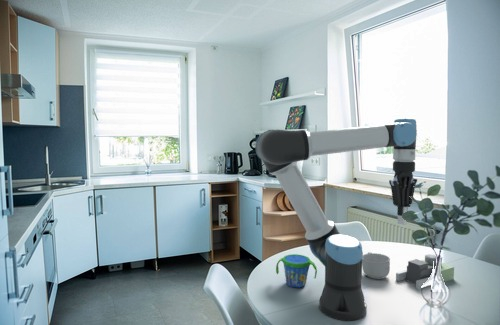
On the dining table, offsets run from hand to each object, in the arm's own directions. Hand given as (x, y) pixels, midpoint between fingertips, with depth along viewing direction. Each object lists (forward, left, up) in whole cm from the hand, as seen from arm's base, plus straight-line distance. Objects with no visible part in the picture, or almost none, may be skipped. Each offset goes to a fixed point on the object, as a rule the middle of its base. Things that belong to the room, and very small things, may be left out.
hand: (402, 223), depth 130 cm
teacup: (+1, +13, -25) cm, 28 cm away
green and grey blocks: (+15, 0, -24) cm, 28 cm away
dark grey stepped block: (+12, 0, -25) cm, 27 cm away
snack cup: (-33, +21, -25) cm, 46 cm away
